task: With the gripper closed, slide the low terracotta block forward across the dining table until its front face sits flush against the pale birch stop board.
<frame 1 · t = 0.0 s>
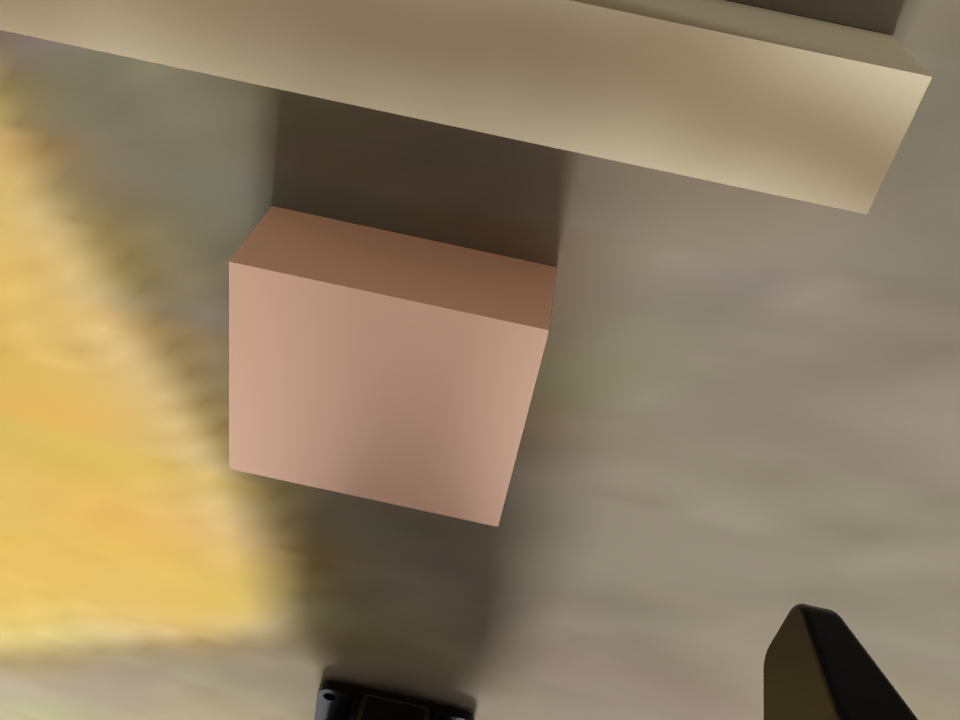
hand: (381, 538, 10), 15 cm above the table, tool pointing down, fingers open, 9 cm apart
terracotta block: (401, 334, 26), on the table
birch stop board: (444, 12, 21), on the table
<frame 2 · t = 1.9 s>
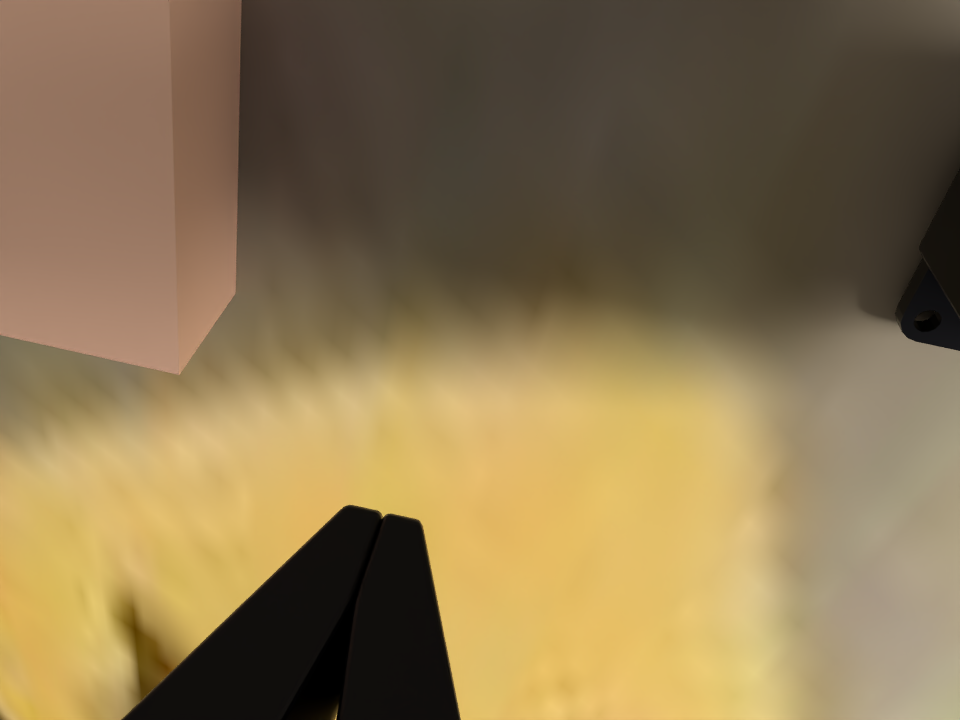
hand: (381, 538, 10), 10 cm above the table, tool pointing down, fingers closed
terracotta block: (76, 83, 18), on the table
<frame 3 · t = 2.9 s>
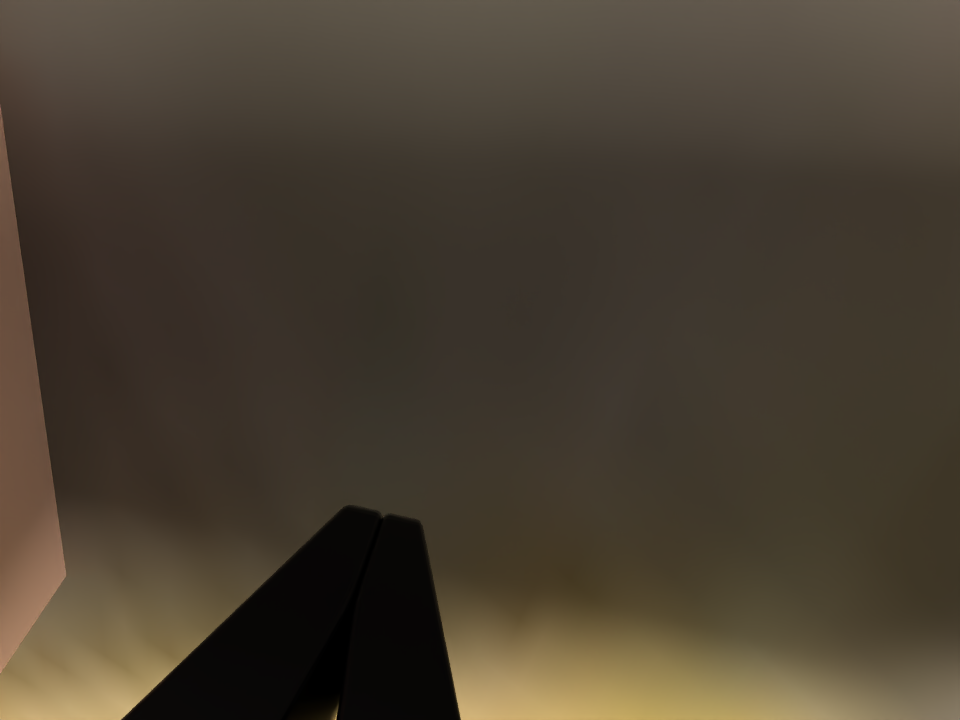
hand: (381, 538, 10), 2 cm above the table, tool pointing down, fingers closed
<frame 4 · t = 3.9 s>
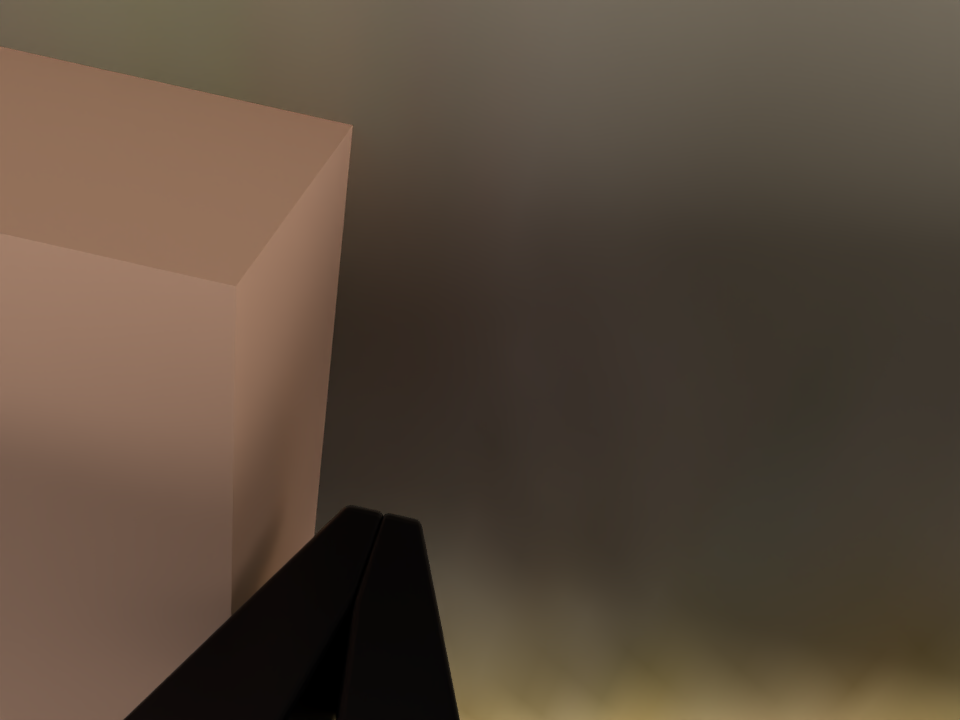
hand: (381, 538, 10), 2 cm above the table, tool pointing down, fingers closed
terracotta block: (65, 353, 11), on the table
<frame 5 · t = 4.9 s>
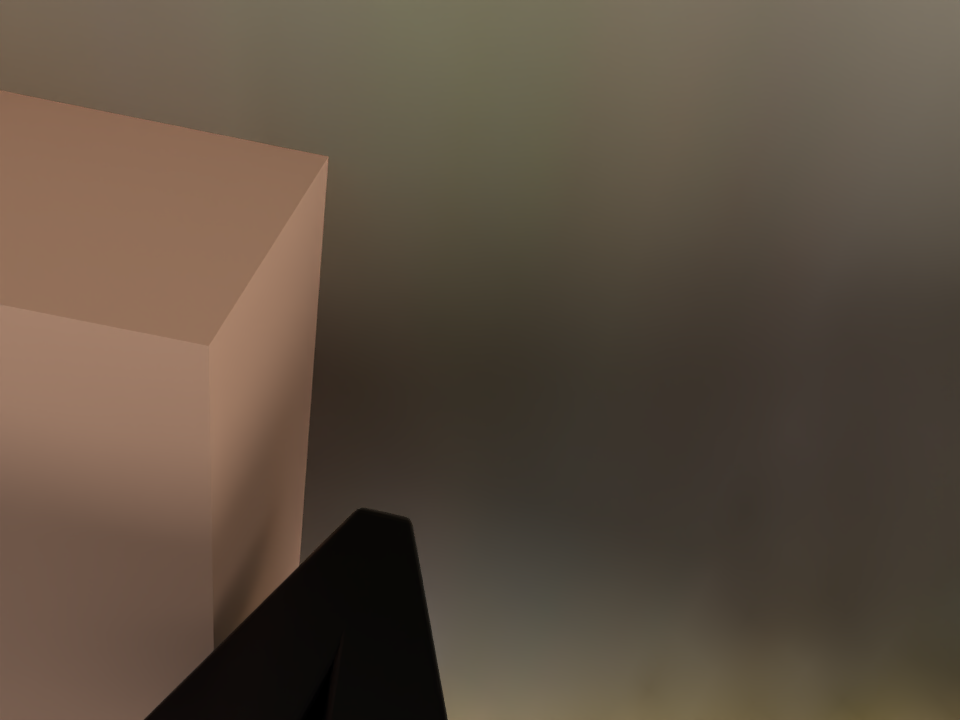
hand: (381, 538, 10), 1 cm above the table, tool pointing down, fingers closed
terracotta block: (37, 391, 11), on the table, touching birch stop board, gripper
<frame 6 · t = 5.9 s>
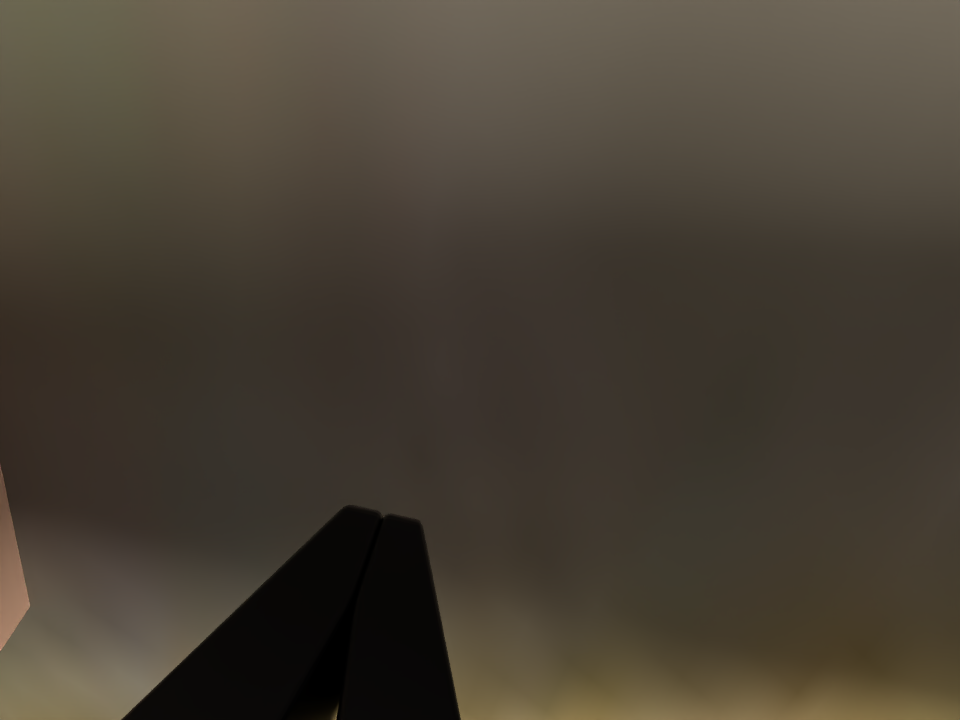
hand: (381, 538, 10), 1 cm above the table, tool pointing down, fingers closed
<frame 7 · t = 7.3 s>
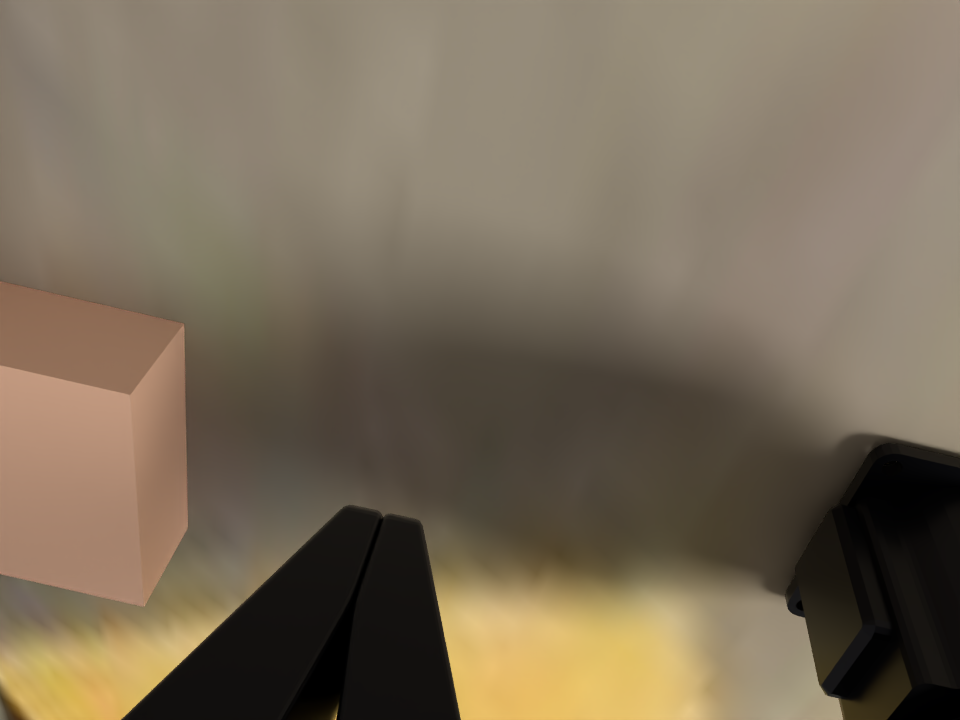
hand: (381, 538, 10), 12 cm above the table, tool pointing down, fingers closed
terracotta block: (75, 401, 26), on the table
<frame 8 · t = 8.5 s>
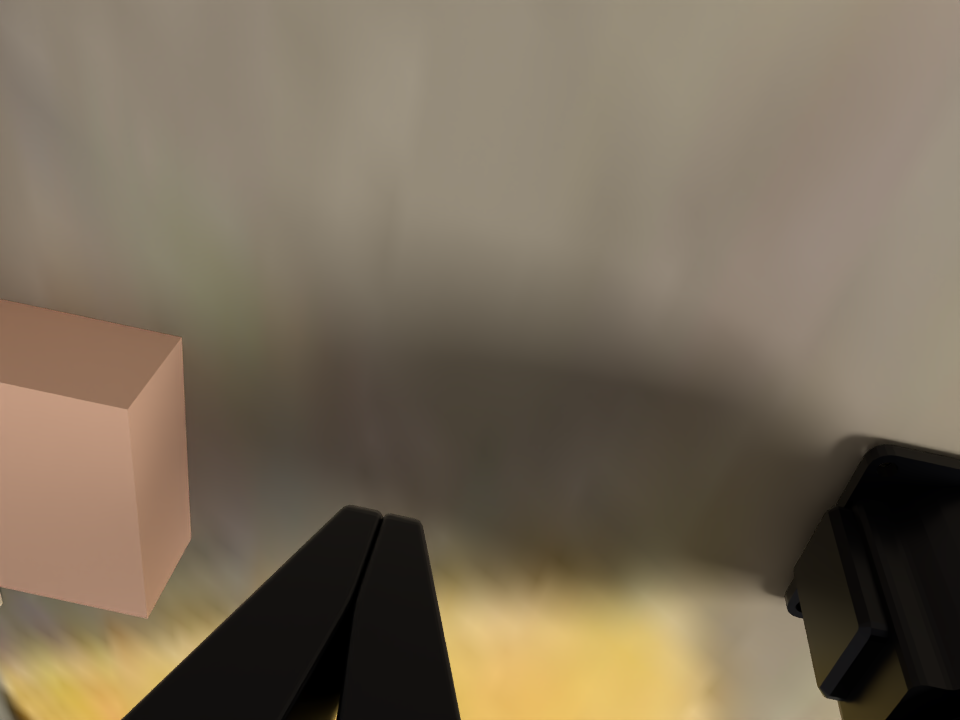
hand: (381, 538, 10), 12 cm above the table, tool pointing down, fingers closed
terracotta block: (77, 416, 26), on the table
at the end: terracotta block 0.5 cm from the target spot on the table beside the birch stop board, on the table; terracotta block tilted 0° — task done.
